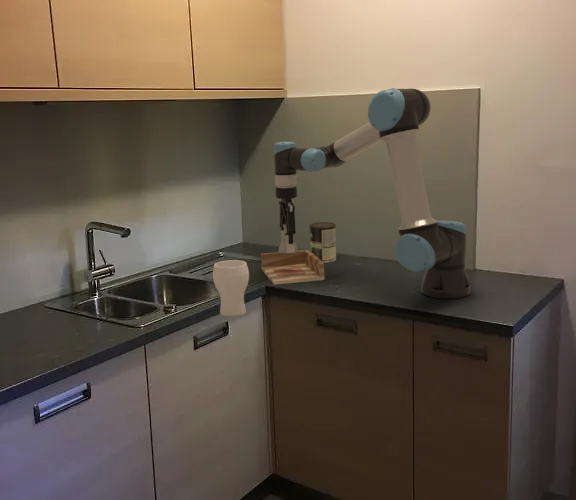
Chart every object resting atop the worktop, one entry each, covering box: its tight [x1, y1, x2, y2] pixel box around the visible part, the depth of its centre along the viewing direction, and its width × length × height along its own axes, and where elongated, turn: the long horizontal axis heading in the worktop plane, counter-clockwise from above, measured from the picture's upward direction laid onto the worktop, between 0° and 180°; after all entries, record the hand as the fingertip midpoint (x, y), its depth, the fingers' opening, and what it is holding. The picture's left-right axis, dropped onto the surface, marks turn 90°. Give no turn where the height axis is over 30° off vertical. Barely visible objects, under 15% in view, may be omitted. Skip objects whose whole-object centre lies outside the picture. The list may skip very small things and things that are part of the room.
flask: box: [277, 224, 299, 253], centre depth 236 cm, size 7×7×10 cm
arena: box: [260, 249, 325, 286], centre depth 239 cm, size 22×18×6 cm
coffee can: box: [308, 221, 337, 264], centre depth 258 cm, size 10×10×14 cm
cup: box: [212, 259, 250, 317], centre depth 197 cm, size 11×11×15 cm
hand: (288, 250), depth 237 cm, fingers closed on flask, 7 cm apart
